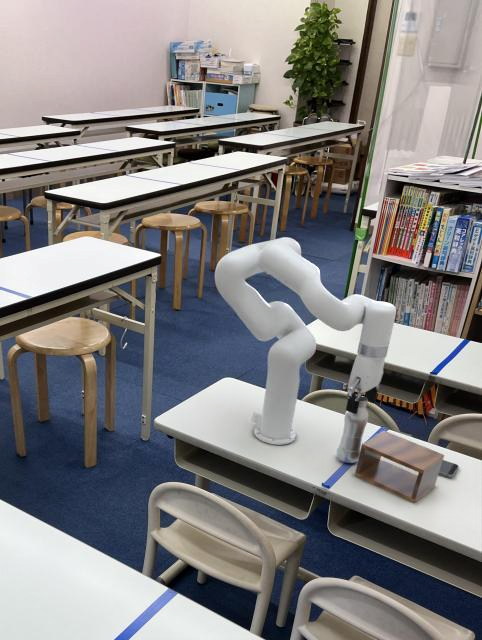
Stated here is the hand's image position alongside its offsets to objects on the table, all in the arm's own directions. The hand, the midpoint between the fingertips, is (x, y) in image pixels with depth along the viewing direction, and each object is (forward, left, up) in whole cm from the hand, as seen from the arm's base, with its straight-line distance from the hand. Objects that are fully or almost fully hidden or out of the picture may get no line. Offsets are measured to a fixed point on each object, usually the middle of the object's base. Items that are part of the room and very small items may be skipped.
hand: (360, 406), depth 194 cm
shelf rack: (+15, 0, -18) cm, 23 cm away
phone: (+17, +16, -18) cm, 29 cm away
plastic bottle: (0, 0, -18) cm, 18 cm away
